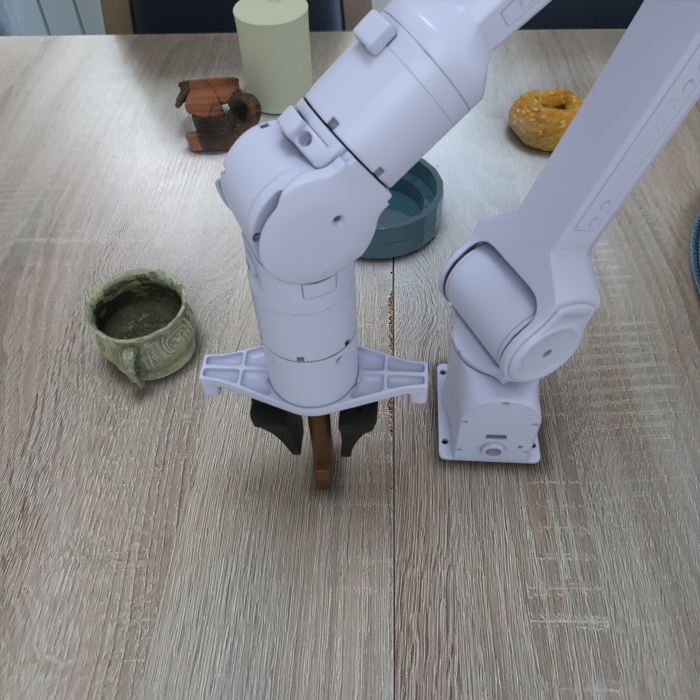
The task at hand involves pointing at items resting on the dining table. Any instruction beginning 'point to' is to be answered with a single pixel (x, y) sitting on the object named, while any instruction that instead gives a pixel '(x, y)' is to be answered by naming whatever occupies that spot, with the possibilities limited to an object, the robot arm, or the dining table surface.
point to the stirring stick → (322, 449)
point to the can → (275, 51)
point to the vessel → (143, 323)
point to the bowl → (409, 213)
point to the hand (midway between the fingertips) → (322, 444)
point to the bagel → (543, 116)
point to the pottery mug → (217, 111)
